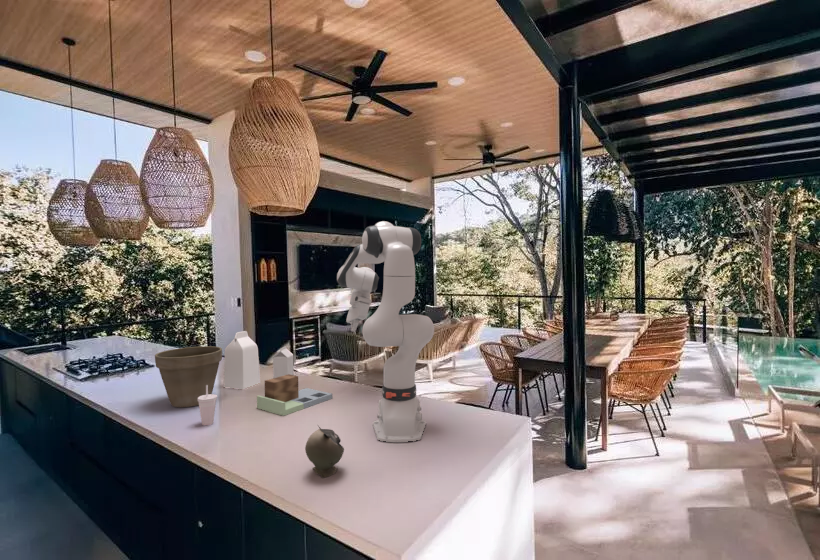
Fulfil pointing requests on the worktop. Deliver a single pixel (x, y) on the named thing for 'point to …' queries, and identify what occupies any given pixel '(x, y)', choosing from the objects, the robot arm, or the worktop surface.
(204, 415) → the smoothie
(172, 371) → the plant pot
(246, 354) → the milk
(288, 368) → the milk carton
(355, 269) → the robot arm
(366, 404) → the worktop surface
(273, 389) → the walnut block
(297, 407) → the trap deck
